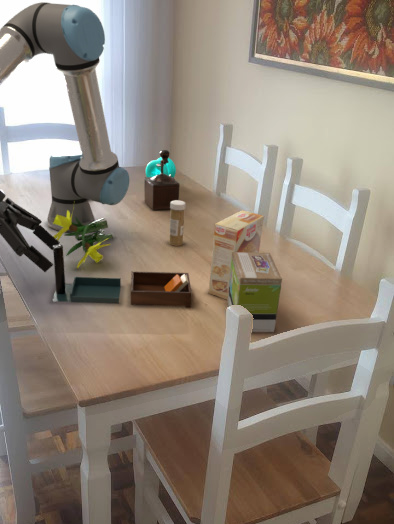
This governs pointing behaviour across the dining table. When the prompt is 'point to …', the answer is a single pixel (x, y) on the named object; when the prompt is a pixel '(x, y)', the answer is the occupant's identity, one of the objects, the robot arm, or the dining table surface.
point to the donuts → (155, 170)
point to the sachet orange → (173, 284)
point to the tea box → (255, 288)
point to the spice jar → (176, 222)
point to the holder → (158, 289)
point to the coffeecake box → (232, 247)
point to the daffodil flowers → (83, 235)
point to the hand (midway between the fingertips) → (52, 257)
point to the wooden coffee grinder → (161, 187)
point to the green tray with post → (83, 285)
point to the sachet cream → (185, 282)
